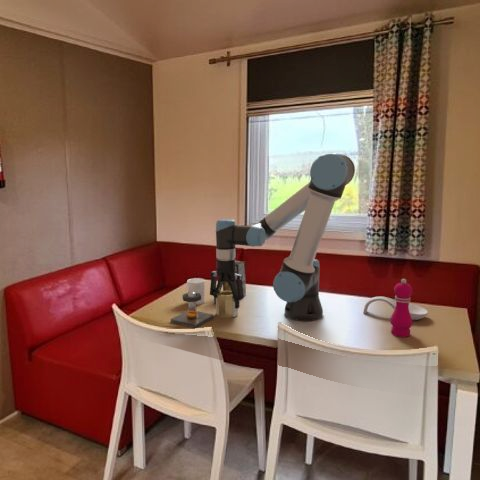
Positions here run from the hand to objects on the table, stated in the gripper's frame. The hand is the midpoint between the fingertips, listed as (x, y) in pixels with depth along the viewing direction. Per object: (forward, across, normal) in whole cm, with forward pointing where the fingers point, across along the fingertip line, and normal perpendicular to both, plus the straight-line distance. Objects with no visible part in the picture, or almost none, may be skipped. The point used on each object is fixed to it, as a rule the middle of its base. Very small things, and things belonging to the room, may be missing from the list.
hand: (226, 314), depth 162 cm
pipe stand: (0, +9, +11) cm, 14 cm away
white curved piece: (+1, -59, -31) cm, 67 cm away
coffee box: (+1, +10, -23) cm, 25 cm away
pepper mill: (0, -64, -13) cm, 65 cm away
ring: (-8, +9, +11) cm, 16 cm away
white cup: (0, +20, -7) cm, 21 cm away
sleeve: (0, 0, 0) cm, 0 cm away
